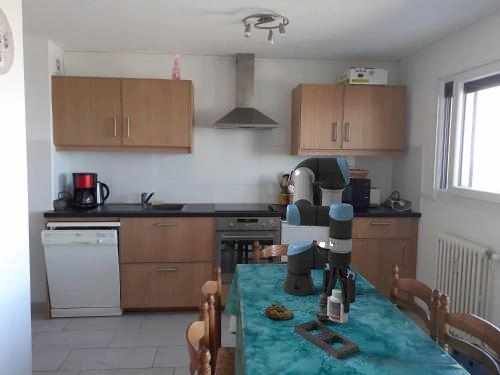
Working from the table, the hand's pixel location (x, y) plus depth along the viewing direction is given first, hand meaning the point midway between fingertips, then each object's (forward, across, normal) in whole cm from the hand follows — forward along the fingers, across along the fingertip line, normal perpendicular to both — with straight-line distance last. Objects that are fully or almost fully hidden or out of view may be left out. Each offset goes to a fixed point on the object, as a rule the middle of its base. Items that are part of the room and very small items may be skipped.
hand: (337, 317), depth 127 cm
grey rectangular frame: (+10, -6, 0) cm, 12 cm away
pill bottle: (+1, 0, 0) cm, 1 cm away
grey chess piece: (+11, -18, +10) cm, 23 cm away
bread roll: (+11, -31, -2) cm, 33 cm away
